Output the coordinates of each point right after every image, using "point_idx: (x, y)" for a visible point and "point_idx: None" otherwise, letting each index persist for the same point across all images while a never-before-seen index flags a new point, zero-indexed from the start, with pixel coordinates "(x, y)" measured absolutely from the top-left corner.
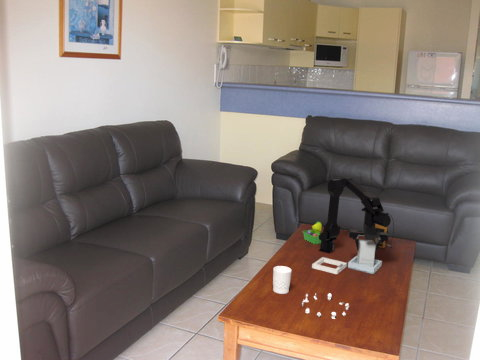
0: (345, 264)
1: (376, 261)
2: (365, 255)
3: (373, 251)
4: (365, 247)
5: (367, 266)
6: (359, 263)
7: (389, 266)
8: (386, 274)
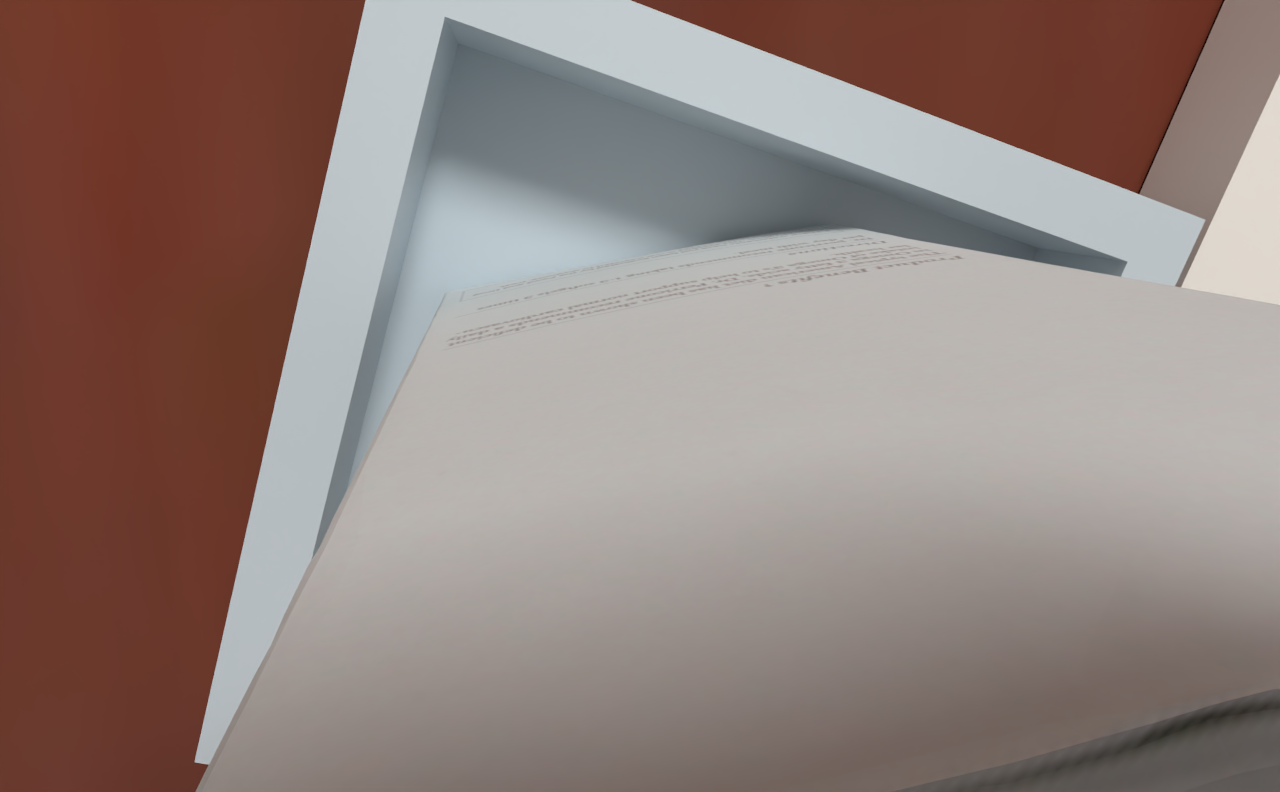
0: (1222, 177)
1: None
2: (833, 308)
3: (441, 479)
4: (1206, 423)
5: (630, 32)
6: (883, 235)
7: (49, 759)
8: (26, 104)
